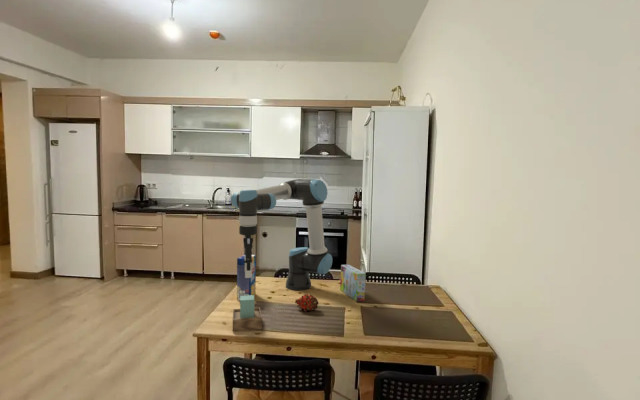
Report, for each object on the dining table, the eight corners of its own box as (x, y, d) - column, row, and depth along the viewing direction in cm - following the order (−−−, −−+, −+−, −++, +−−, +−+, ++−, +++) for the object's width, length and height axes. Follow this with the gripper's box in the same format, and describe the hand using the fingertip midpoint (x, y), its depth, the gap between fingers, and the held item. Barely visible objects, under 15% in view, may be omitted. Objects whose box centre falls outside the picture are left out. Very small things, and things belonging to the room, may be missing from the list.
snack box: (365, 300, 190) (366, 273, 189) (356, 302, 188) (357, 274, 187) (348, 289, 210) (348, 263, 209) (339, 290, 208) (340, 264, 207)
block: (253, 312, 160) (253, 295, 160) (254, 317, 154) (254, 299, 154) (240, 313, 159) (240, 295, 158) (240, 318, 153) (240, 300, 153)
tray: (259, 318, 164) (260, 307, 164) (261, 329, 152) (261, 317, 152) (233, 319, 162) (233, 309, 161) (232, 331, 150) (232, 319, 150)
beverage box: (255, 293, 198) (255, 254, 196) (249, 300, 187) (249, 259, 185) (243, 293, 199) (243, 254, 197) (236, 299, 188) (237, 258, 186)
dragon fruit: (319, 315, 173) (296, 316, 176) (322, 300, 179) (299, 301, 182) (315, 305, 168) (291, 305, 171) (317, 290, 174) (294, 291, 177)
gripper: (239, 221, 166) (239, 266, 168) (239, 229, 142) (239, 282, 143) (255, 221, 168) (255, 265, 169) (258, 229, 144) (258, 281, 145)
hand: (248, 273), depth 156 cm, fingers open, 13 cm apart
